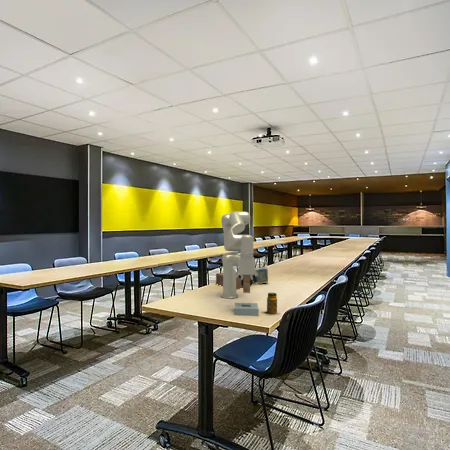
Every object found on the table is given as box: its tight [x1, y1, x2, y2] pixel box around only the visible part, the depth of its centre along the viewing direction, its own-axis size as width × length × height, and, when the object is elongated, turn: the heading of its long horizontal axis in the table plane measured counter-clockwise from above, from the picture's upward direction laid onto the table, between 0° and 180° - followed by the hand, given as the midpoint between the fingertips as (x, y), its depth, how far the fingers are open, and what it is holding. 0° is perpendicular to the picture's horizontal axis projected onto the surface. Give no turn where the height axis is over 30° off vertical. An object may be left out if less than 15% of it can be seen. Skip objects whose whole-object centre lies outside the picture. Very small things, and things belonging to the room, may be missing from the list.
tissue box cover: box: [215, 272, 243, 290], centre depth 285 cm, size 26×14×10 cm, turn 35°
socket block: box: [233, 302, 259, 317], centre depth 204 cm, size 14×14×4 cm
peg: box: [242, 275, 251, 294], centre depth 203 cm, size 4×4×12 cm
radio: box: [250, 266, 269, 285], centre depth 297 cm, size 23×9×15 cm, turn 99°
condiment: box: [261, 292, 280, 316], centre depth 202 cm, size 7×8×12 cm
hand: (246, 285), depth 203 cm, fingers closed on peg, 4 cm apart
